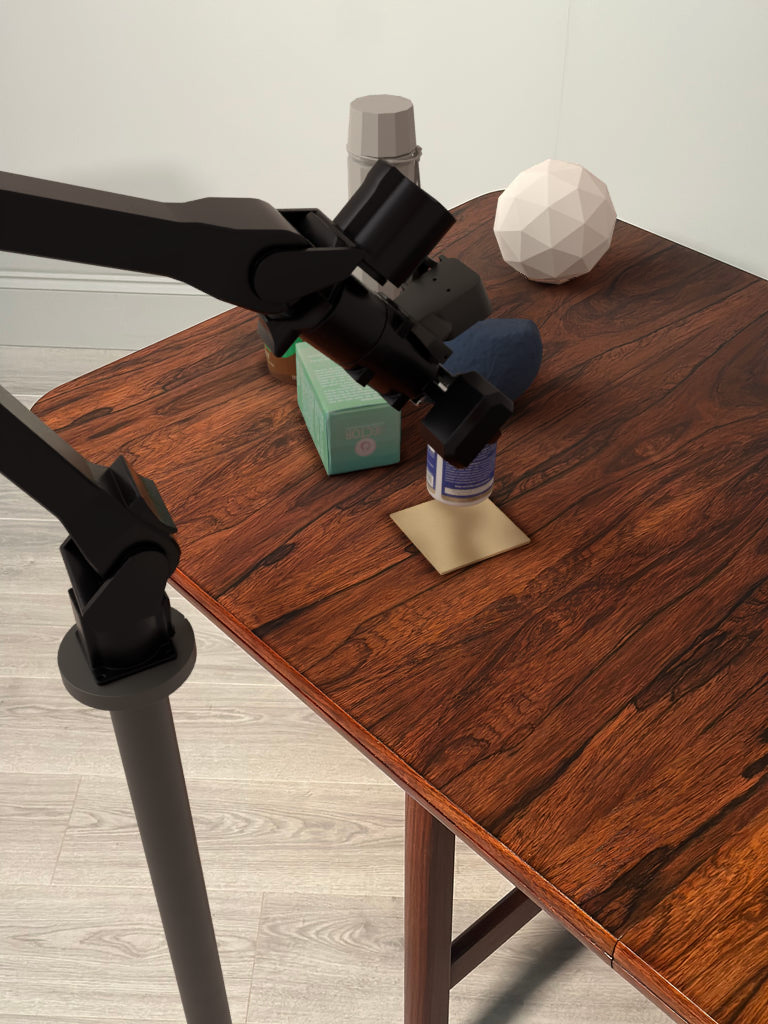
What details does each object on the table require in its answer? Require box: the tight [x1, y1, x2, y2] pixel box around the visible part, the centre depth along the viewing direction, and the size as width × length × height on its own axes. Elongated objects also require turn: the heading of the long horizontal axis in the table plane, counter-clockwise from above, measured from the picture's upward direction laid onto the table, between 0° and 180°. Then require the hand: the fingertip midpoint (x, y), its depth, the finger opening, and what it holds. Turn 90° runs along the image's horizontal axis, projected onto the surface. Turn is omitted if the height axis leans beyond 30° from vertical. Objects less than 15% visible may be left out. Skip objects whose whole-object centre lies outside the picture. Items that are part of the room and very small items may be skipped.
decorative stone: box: [439, 317, 544, 403], centre depth 105 cm, size 12×12×10 cm
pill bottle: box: [425, 383, 498, 507], centre depth 86 cm, size 6×6×10 cm
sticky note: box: [389, 497, 532, 576], centre depth 92 cm, size 9×9×1 cm
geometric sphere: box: [493, 158, 618, 285], centre depth 128 cm, size 14×15×15 cm
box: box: [296, 342, 402, 476], centre depth 101 cm, size 7×14×8 cm, turn 16°
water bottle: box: [345, 93, 423, 300], centre depth 115 cm, size 9×8×25 cm
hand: (477, 420), depth 86 cm, fingers closed on pill bottle, 6 cm apart
